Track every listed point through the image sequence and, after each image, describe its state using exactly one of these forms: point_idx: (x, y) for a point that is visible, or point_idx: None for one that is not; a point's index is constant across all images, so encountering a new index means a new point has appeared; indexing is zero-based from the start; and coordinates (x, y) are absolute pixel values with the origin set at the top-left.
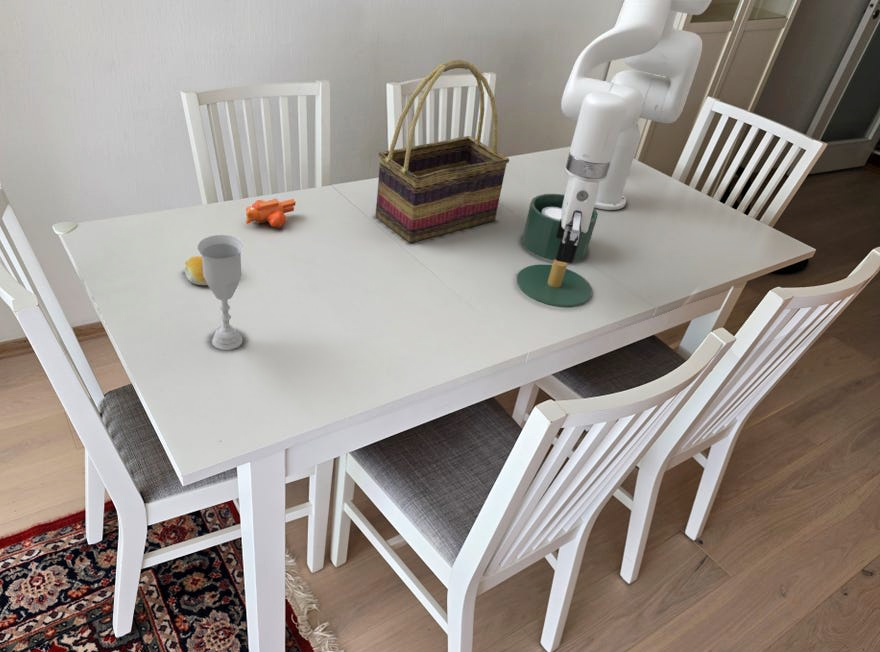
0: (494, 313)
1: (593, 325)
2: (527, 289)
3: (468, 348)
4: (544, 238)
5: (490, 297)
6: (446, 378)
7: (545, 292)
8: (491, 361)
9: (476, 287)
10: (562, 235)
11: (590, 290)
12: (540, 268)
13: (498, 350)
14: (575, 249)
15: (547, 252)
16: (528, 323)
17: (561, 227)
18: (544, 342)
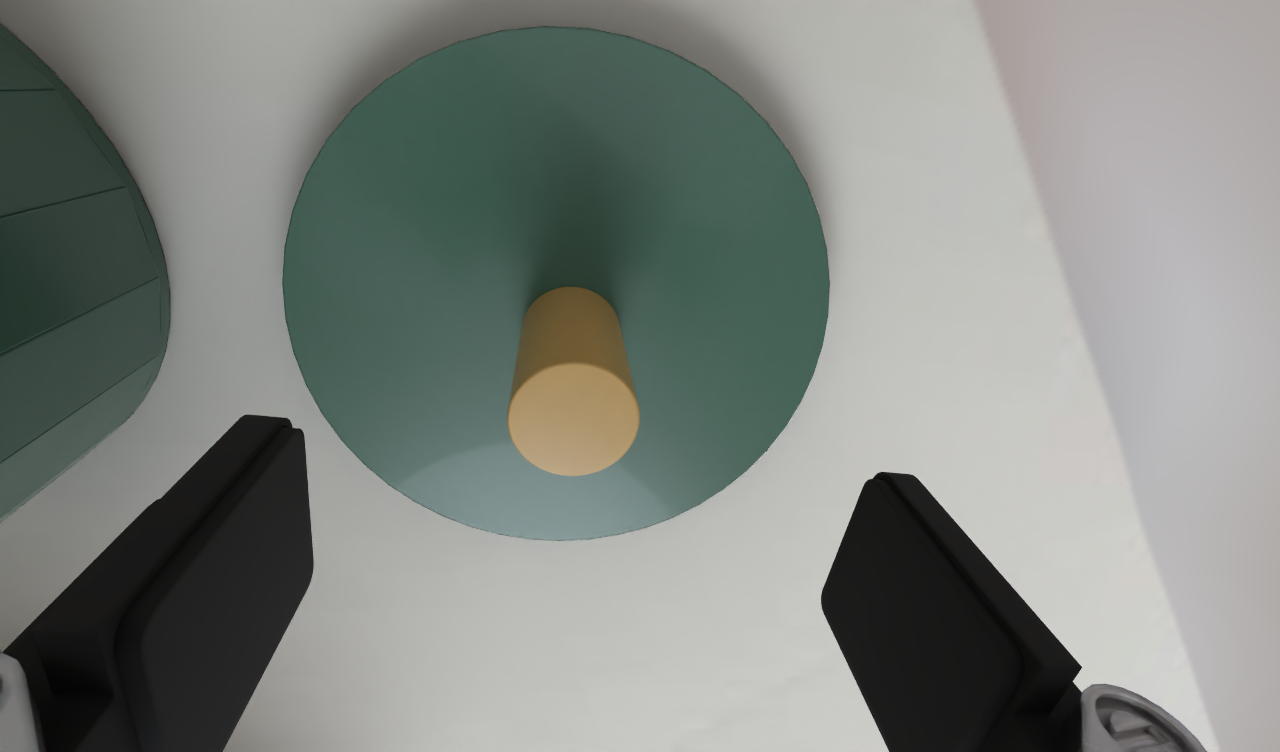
0: None
1: (994, 101)
2: (675, 494)
3: None
4: (24, 471)
5: (725, 620)
6: (1203, 706)
7: (693, 399)
8: (1163, 603)
9: (647, 670)
10: (291, 558)
11: (609, 44)
12: (378, 407)
13: (1107, 584)
14: (1021, 612)
15: (126, 364)
16: (940, 475)
17: (238, 685)
18: (1097, 415)
